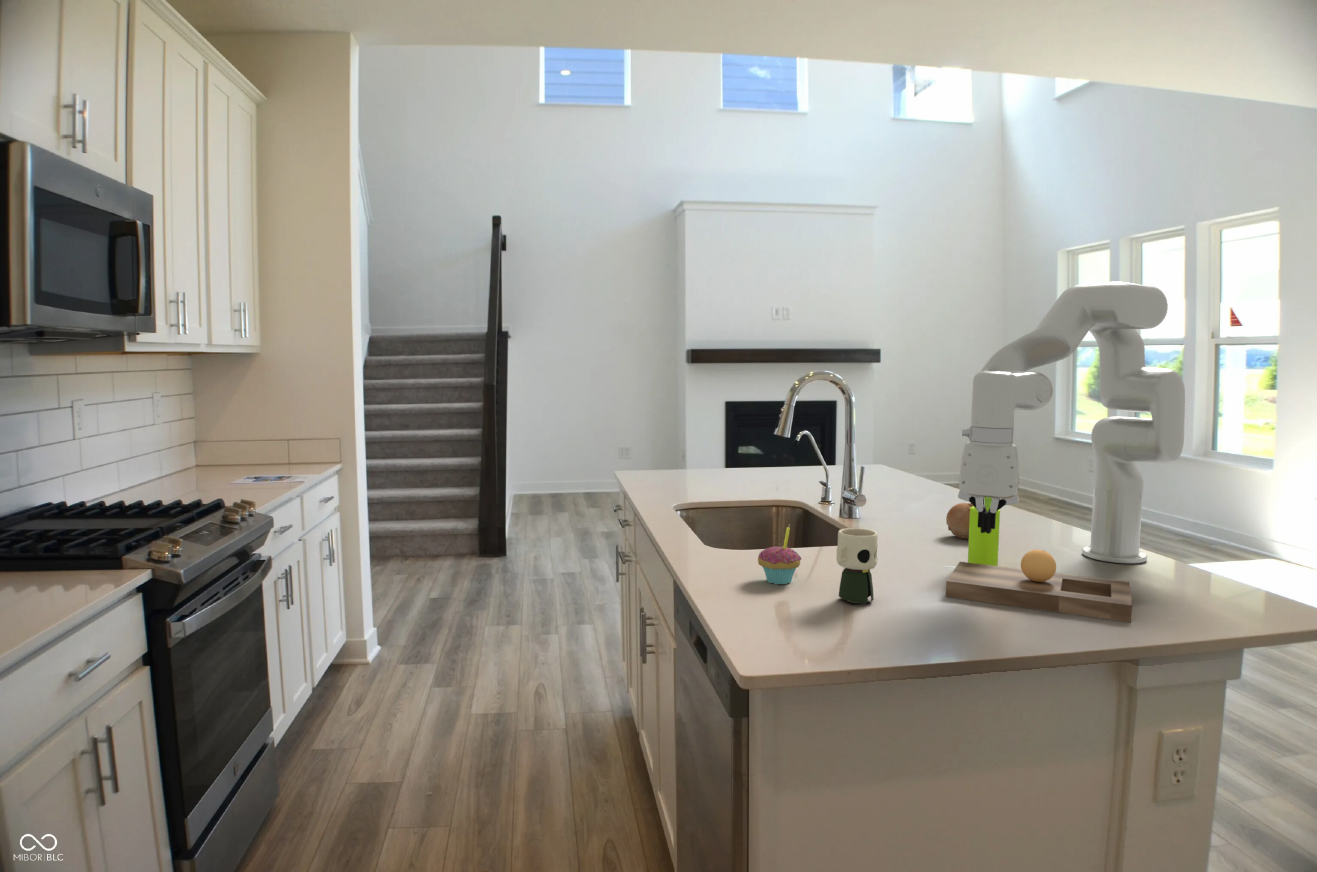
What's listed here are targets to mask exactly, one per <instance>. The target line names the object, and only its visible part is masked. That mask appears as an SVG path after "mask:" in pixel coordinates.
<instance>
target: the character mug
mask: <svg viewBox="0 0 1317 872" xmlns="http://www.w3.org/2000/svg"><path fill="white" fill-rule="evenodd" d="M878 539H879V538H878V532H877V531H875V530H872V529H868V528H857V527H852V528H851V527H847V528H841V529H838V532H837V547H836V562H837V565H839V566H840V567H842V568H844V569H843V570H842V572H841V576H840V582H839V588H838V589H839V590H838V597H839V598H840V599H842V600H844V601H847V602H849V603H854V604H868V603H869V597H870V601H871V602H873V601H874V599H875V597H874V585H873V584H874V583H873V577H872V573H871V570H872V569H875V567H876V566H877V564H878V554H877V553H878V545H879V543H878Z"/></svg>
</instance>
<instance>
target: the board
mask: <svg viewBox="0 0 1317 872" xmlns="http://www.w3.org/2000/svg"><path fill="white" fill-rule="evenodd" d="M948 576H949V577H948V578H947V579H946V581H945V582H946V584H945V597H948V598H954V599H961V600H970V601H975V602H976V601H977V602H983V603H990V604H997V605H1005V606H1010V607H1011V606H1012V607H1018V608H1019V607H1020V608H1025V609H1033V610H1039V611H1046V612H1053V611H1055V612H1054V613H1060V612H1061V614H1066V615H1074V614H1077V615H1076V616H1081V615H1082V617H1088V616H1089V617H1091V618H1095V617H1099V618H1098V619H1102V618H1104V620H1110V621H1117V620H1120V621H1119V622H1124V621H1125V623H1132V612H1133V603H1132V602H1133V601H1132V594H1131V593H1132V592H1131V585H1130V581H1126V580H1125V581H1124V580H1116V579H1107V578H1099V577H1093V576H1084V575H1083V576H1082V575H1074V574H1067V573H1066V574H1065V573H1058V572H1055V574H1054V575H1053V577H1052V578H1050V579H1049V580H1047V581H1044V582H1035V581H1032V580H1030V579H1029V578H1027V577H1026V576H1025V575H1024V573H1023V572H1022V569H1021V568H1016V567H1015V568H1014V567H1007V566H999V565H998V566H992V565H984V564H976V563H968V561H967V562H966V561H958V564H957V565H956V566H955V568H954V569H953V571H952V572H951V573H950V575H948Z"/></svg>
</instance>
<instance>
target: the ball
mask: <svg viewBox="0 0 1317 872" xmlns="http://www.w3.org/2000/svg"><path fill="white" fill-rule="evenodd" d="M1020 569H1022V572H1023V573H1024V575H1025V576H1026V577H1027V578H1029V579H1030V580H1032V581H1035V582H1044V581H1047V580H1049V579H1050V578H1052V577H1053V575H1054V574H1055V573H1057V572H1056V571H1057V563H1056V560H1055V558H1054V557H1053V556H1052V554H1051V553H1050V552H1047V551H1045V550H1043V549H1031V550H1029V551H1028V552H1026V553H1025V554H1024V555H1023V556H1022V558H1021V560H1020Z"/></svg>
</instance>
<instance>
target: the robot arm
mask: <svg viewBox="0 0 1317 872" xmlns="http://www.w3.org/2000/svg"><path fill="white" fill-rule="evenodd" d="M1168 307H1169V306H1168V300H1167V297H1166V295H1165V293H1164V292H1163V291H1162V290H1161V289H1159V288H1158V287H1155V286H1152V285H1145V284H1138V283H1131V282H1124V281H1110V282H1109V281H1108V282H1096V283H1085V284H1077V285H1073V286H1070V287H1068V288H1067V289H1065V290H1064V291H1063V292H1062V293H1061V294H1060V296H1059V297H1057V299H1056V300H1055V302H1054V303H1053V304H1052V306H1051V307H1050V309H1049V310H1048V311H1047V313H1046V314H1045V315H1044V317H1043V318H1042V319H1041V320H1040V322H1039V324H1038V325H1037V326H1036V328H1034V329H1033V330H1031V331H1030V332H1027V333H1026V334H1024V335H1022V336H1020V337H1019V338H1017V339H1015V340H1013V341H1011V342H1010V343H1008V344H1006V345H1004V346H1003V347H1002V348H1000V349H998V351H996V352H995V353H994V354H992V356H991V357H990V358H989V360H987V362H986V363H985V364H984V365H983V367H982V369H980V371H979V372H977V373H976V374H975V375H974V376H973V380H972V392H971V393H972V395H971V396H972V397H971V410H970V411H971V413H970V415H971V416H970V418H971V419H970V427H968V428H965V429H964V428H963V429H962V431H961V434H962V435H961V436H962V437H966V438H968V439H969V441H968V442H965V444H964V447H963V450H962V451H963V452H962V456H961V464H960V469H959V470H960V471H959V480H958V481H959V483H958V490H959V491H958V494H957V497H958V499H960V500H963V501H965V502H968V503H971V504H972V505H973V506H974V507H975V508H976V509H977V511H978V527H980V528H981V533H984V532H986V533H988V534H990V533H991V531H992V529H995V523H996V512H997V511H998V510H999V509H1000V510H1001V509H1002V508H1003V507H1005V506H1011V505H1017V504H1018V503H1019V501H1020V500H1019V494H1018V490H1019V476H1020V475H1019V471H1020V470H1019V457H1018V449H1017V445H1016V444H1013V442H1014V426H1015V425H1014V424H1015V410H1017V411H1035V410H1039V409H1041V408H1044V407H1045V406H1047V405H1048V403H1049V402H1050V401H1051V399H1052V397H1053V393H1054V391H1053V390H1054V389H1053V384H1052V381H1051V380H1050V378H1049V377H1048V376H1047V375H1045V374H1044V373H1042V372H1039V371H1035V370H1033V371H1032V370H1031V369H1036V368H1040V367H1044V366H1047V365H1051V364H1053V363H1054V364H1055V363H1056V362H1059V361H1062V360H1064V359H1067V358H1069V357H1070V356H1071V355H1073V354H1074V352H1075V351H1076V349H1077V348H1078V347H1079V346H1080V344H1081V342H1082V341H1083V340H1084V339H1085V337H1086V335H1087V334H1088V333H1090V334H1091V335H1092V336H1093V338H1094V339H1095V341H1096V344H1097V346H1098V351H1099V399H1100V403H1101V405H1102V406H1103V407H1105V408H1106V409H1109V410H1112V411H1120V412H1121V411H1122V412H1134V413H1137V412H1138V413H1150V416H1151V418H1147V417H1134V416H1107V417H1103V418H1101V419H1099V420H1098V421H1097V422H1095V424H1094V425H1093V428H1092V431H1091V435H1090V436H1091V437H1090V438H1091V446H1092V453H1093V461H1094V465H1093V467H1094V472H1093V473H1094V475H1093V493H1092V509H1091V510H1092V511H1091V513H1092V514H1091V530H1090V545H1087V546H1084V547H1083V548H1082V549H1081V551H1082V552H1081V553H1082V555H1084V557H1087V558H1090V559H1093V560H1097V561H1102V562H1107V563H1114V564H1115V563H1118V564H1142V563H1145V562H1146V561H1147V560H1148V555H1147V554H1146V553H1145V552H1143V551H1140V541H1141V526H1142V512H1143V511H1142V510H1143V508H1142V507H1143V498H1144V497H1143V496H1144V480H1143V475H1142V474H1141V471H1140V469H1139V468H1138V466H1137V464H1136V463H1135V462H1137V463H1138V462H1140V463H1147V464H1158V465H1168V464H1172V463H1175V462H1176V461H1177V460H1178V459H1179V458H1180V457H1181V456H1182V452H1183V449H1184V444H1185V443H1184V442H1185V441H1184V440H1185V417H1186V416H1185V414H1186V413H1185V411H1186V408H1185V407H1186V390H1185V384H1184V381H1183V378H1182V376H1181V375H1180V374H1179V373H1178V372H1177V371H1176V370H1173V369H1171V368H1164V367H1160V368H1159V367H1147V365H1146V362H1145V358H1146V357H1145V356H1146V355H1145V351H1146V350H1145V343H1144V340H1143V338H1142V336H1141V335H1140V333H1139V331H1138V330H1149V329H1153V328H1156V327H1158V326H1159V325H1160V324H1161V323H1162V322H1163V321H1164V320H1165V318H1166V317H1167V313H1168ZM984 497H992V502H991V507H990V508H989V509H988V511H987V510H986V507H985V501H984Z"/></svg>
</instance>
